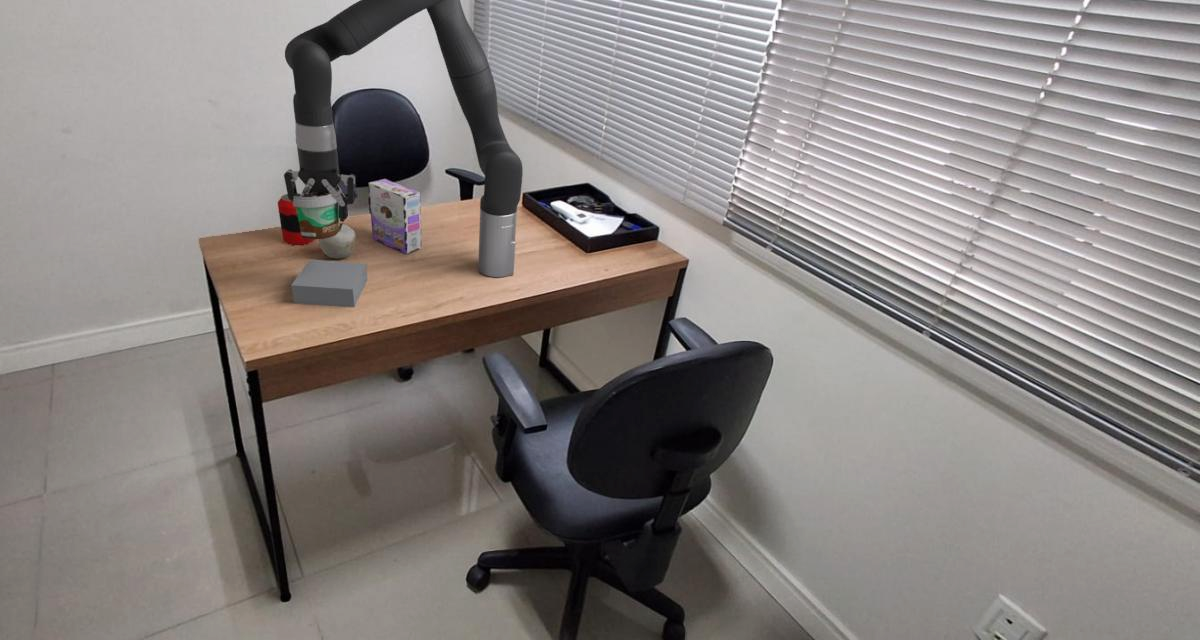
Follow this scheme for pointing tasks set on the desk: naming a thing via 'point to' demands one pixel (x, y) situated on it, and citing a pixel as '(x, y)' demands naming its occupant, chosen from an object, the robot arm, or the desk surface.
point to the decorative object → (339, 243)
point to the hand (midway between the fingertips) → (324, 219)
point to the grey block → (330, 283)
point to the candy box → (395, 215)
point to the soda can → (290, 222)
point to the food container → (317, 215)
